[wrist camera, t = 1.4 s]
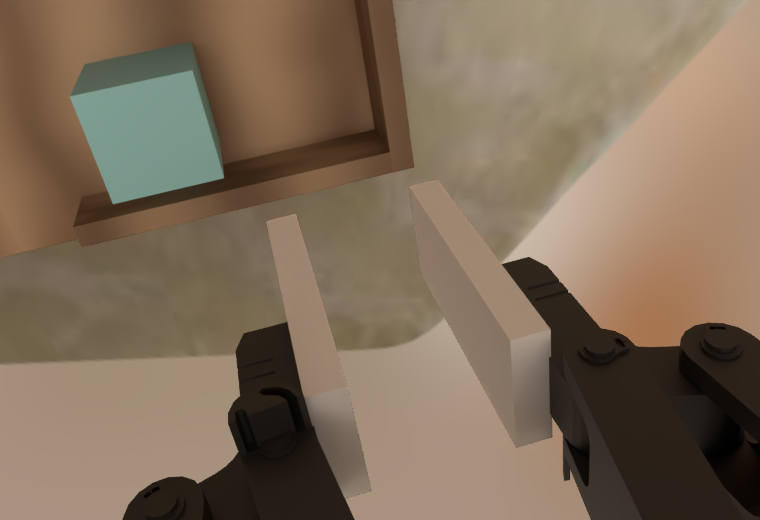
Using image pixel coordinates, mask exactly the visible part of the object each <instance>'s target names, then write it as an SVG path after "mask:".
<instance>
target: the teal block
mask: <svg viewBox="0 0 760 520" xmlns="http://www.w3.org/2000/svg"><path fill="white" fill-rule="evenodd" d="M70 98H71V101H72V103H73V106H74V108H75V111H76V113H77V116H78V118H79V121H80V123H81V126H82V128H83V131H84V133H85V136H86V138H87V141H88V143H89V146H90V148H91V151H92V153H93V156H94V158H95V161H96V163H97V166H98V168H99V170H100V173H101V175H102V178H103V180H104V183H105V185H106V188H107V190H108V193H109V195H110V198H111V200H112V203H113V204H116V203H120V202H125V201H129V200H133V199H137V198H142V197H146V196H150V195H154V194H159V193H163V192H167V191H172V190H176V189H180V188H184V187H189V186H193V185H197V184H201V183H206V182H210V181H214V180H219V179H223V178H224V171H223V163H222V154H221V145H220V138H219V135H218V131H217V128H216V124H215V121H214V118H213V114H212V111H211V107H210V104H209V100H208V97H207V93H206V90H205V87H204V83H203V80H202V76H201V73H200V69H199V66H198V62H197V59H196V56H195V52H194V49H193V45H192V42H188V43H183V44H178V45H173V46H169V47H164V48H159V49H154V50H149V51H145V52H140V53H135V54H130V55H126V56H121V57H116V58H111V59H106V60H102V61H97V62H92V63H87V64H84V67H83V69H82V71H81V73H80V75H79V77H78V80H77V82H76V84H75V86H74V88H73V91H72V93H71V95H70Z"/></svg>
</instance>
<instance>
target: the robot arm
mask: <svg viewBox="0 0 760 520" xmlns="http://www.w3.org/2000/svg"><path fill="white" fill-rule="evenodd" d="M409 190H410V198H411V205H412V212H413V220H414V227H415V234H416V241H417V249H418V256H419V263H420V271H421V275H422V277H423V279H424V281H425V283H426V284H427V286H428V288H429V290H430V292H431V294H432V295H433V297H434V299H435V301H436V303H437V304H438V306H439V308H440V310H441V312H442V314H443V315H444V317H445V319H446V321H447V323H448V325H449V326H450V328H451V330H452V332H453V334H454V335H455V337H456V339H457V341H458V343H459V345H460V346H461V348H462V350H463V352H464V354H465V355H466V357H467V359H468V361H469V363H470V365H471V366H472V368H473V370H474V372H475V374H476V376H477V377H478V379H479V381H480V383H481V385H482V386H483V388H484V390H485V392H486V394H487V396H488V397H489V399H490V401H491V403H492V405H493V407H494V408H495V410H496V412H497V414H498V416H499V417H500V419H501V421H502V423H503V425H504V426H505V428H506V430H507V432H508V434H509V436H510V437H511V439H512V441H513V443H514V445H515V447H516V448H518V447H521V446H524V445H527V444H531V443H535V442H538V441H541V440H545V439H548V438H551V437H552V417H553V419H554V421H555V422H556V423H557V425H558V427H559V428H560V430H561V431H562V433H563V475H564V480H565V481H566V480H570V470H571V472H572V474H573V477H574V479H575V482H576V484H577V487H578V489H579V492H580V494H581V497H582V499H583V501H584V504H585V506H586V509H587V511H588V514H589V516H590V519H591V520H760V341H759V340H758V339H757V338H755V337H754V336H753V335H751V334H750V333H748V332H746V331H744V330H742V329H740V328H738V327H735V326H731V325H727V324H724V323H705V324H700V325H695V326H693V327H692V328H690V329H689V330H687V331H685V333H684V335H683V336H682V338H681V342H680V346H672V347H638V346H635V345H634V344H633V343H632V342H631V341H630V340H629V339H628V338H627V337H626V336H624V335H622V334H620V333H617V332H616V331H612V330H607V329H601V328H600V327H599V326H598V325H597V323H596V322H595V321H594V320H593V319H592V318H591V317H590V316H589V314H588V313H587V312H586V311H585V310H584V308H583V307H582V306H581V305H580V304H579V303H578V301H577V300H576V299H575V298H574V297H573V296H572V294H571V293H568V290H567V289H566V287H565V286H564V285H563V284H562V283H561V282H559V279H558V278H557V277H556V276H555V275H554V273H553V272H552V271H551V270H550V269H549V268H548V266H546V265H543V264H542V263H540V262H537V261H536V260H534V259H532V258H530V257H527V258H523V259H520V260H516V261H512V262H508V263H504V264H501V263H500V262H499V260H498V259H497V258H496V256H495V255H494V254H493V252H492V251H491V250H490V248H489V247H488V246H487V244H486V243H485V242H484V240H483V239H482V238H481V236H480V235H479V234H478V232H477V231H476V230H475V228H474V227H473V226H472V224H471V223H470V222H469V220H468V219H467V218H466V217H465V215H464V214H463V213H462V211H461V210H460V209H459V207H458V206H457V205H456V203H455V202H454V201H453V199H452V198H451V197H450V195H449V194H448V193H447V191H446V190H445V189H444V187H443V186H442V185H441V183H440V182H439V181H438V179H436V180H432V181H428V182H424V183H420V184H416V185H412V186H409ZM266 224H267V229H268V233H269V238H270V243H271V247H272V252H273V257H274V261H275V266H276V271H277V275H278V280H279V285H280V289H281V294H282V299H283V303H284V308H285V313H286V317H287V322H286V323H282V324H278V325H274V326H271V327H267V328H263V329H259V330H255V331H252V332H248V333H244V334H243V336H242V338H241V341H240V343H239V345H238V347H237V349H236V358H237V368H238V378H239V389H240V397H238V398H237V399H236V400H235V401H234V402H233V405H232V407H231V408H230V411H229V412H228V425H229V427H230V430H231V432H232V435H233V438H234V441H235V443H236V446H237V449H238V451H239V452H238V453H237V455H236V456H235V458H234V459H233V460H232V461H231V462H230V463H229V464H228V465H227V466H226V467H224V468H223V469H222V470H220V471H219V472H217V473H216V474H214V475H212V476H211V477H209V478H207V479H205V480H204V481H202V482H200V483H198V484H197V483H196V482H195V481H194V480H192V479H188V478H185V477H168V478H165V479H162V480H159V481H157V482H154V483H152V484H151V485H149V486H148V487H146V488H145V489H144V490H142V491H140V492H139V493H138V494H137V495H136V497H135V498H134V499H133V500H132V501H131V502H130V504H129V505H128V507H127V510H126V512H125V514H124V517H123V520H354V518H353V515H352V513H351V511H350V509H349V507H348V504H347V502H346V500H345V499H346V498H350V497H353V496H356V495H360V494H363V493H367V492H370V491H372V490H371V486H370V481H369V477H368V473H367V469H366V465H365V460H364V455H363V451H362V447H361V443H360V438H359V434H358V430H357V426H356V421H355V417H354V412H353V408H352V404H351V400H350V395H349V391H348V386H347V383H346V380H345V376H344V373H343V369H342V366H341V363H340V359H339V356H338V353H337V349H336V346H335V343H334V339H333V336H332V333H331V329H330V326H329V323H328V319H327V316H326V313H325V309H324V306H323V303H322V299H321V296H320V293H319V289H318V286H317V283H316V279H315V276H314V273H313V269H312V266H311V263H310V259H309V256H308V253H307V249H306V246H305V243H304V239H303V236H302V233H301V229H300V226H299V223H298V219H297V216H296V214H293V215H288V216H284V217H280V218H276V219H272V220H268V221H266Z"/></svg>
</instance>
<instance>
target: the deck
mask: <svg viewBox="0 0 760 520" xmlns="http://www.w3.org/2000/svg"><path fill="white" fill-rule="evenodd" d="M188 42H192V45H193V49H194V52H195V56H196V59H197V62H198V66H199V69H200V73H201V76H202V80H203V83H204V87H205V90H206V93H207V97H208V100H209V104H210V107H211V111H212V114H213V118H214V121H215V124H216V128H217V131H218V135H219V138H220V145H221V154H222V163H223V171H224V178H223V179H219V180H214V181H210V182H206V183H201V184H197V185H193V186H189V187H184V188H180V189H176V190H172V191H167V192H163V193H159V194H154V195H150V196H146V197H142V198H137V199H133V200H129V201H125V202H120V203H116V204H113V203H112V200H111V198H110V195H109V193H108V190H107V188H106V185H105V183H104V180H103V178H102V175H101V173H100V170H99V168H98V166H97V163H96V161H95V158H94V156H93V153H92V151H91V148H90V146H89V143H88V141H87V138H86V136H85V133H84V131H83V128H82V126H81V123H80V121H79V118H78V116H77V113H76V111H75V108H74V106H73V103H72V101H71V98H70V95H71V93H72V91H73V88H74V86H75V84H76V82H77V80H78V77H79V75H80V73H81V71H82V69H83V67H84V64H87V63H92V62H97V61H102V60H106V59H111V58H116V57H121V56H126V55H130V54H135V53H140V52H145V51H149V50H154V49H159V48H164V47H169V46H173V45H178V44H183V43H188ZM413 167H414V164H413V156H412V148H411V141H410V133H409V125H408V118H407V110H406V102H405V95H404V87H403V79H402V72H401V64H400V56H399V49H398V41H397V33H396V26H395V18H394V10H393V3H392V0H0V257H4V256H9V255H13V254H17V253H21V252H25V251H30V250H34V249H38V248H42V247H46V246H51V245H55V244H59V243H63V242H67V241H71V240H76V239H78V240H79V242H80V244H81V246H82V247H84V246H88V245H93V244H97V243H101V242H105V241H109V240H113V239H118V238H122V237H126V236H130V235H134V234H138V233H142V232H147V231H151V230H155V229H159V228H163V227H167V226H172V225H176V224H180V223H184V222H188V221H192V220H197V219H201V218H205V217H209V216H213V215H217V214H222V213H226V212H230V211H234V210H238V209H242V208H246V207H251V206H255V205H259V204H263V203H267V202H271V201H276V200H280V199H284V198H288V197H292V196H296V195H301V194H305V193H309V192H313V191H317V190H321V189H326V188H330V187H334V186H338V185H342V184H346V183H351V182H355V181H359V180H363V179H367V178H371V177H375V176H380V175H384V174H388V173H392V172H396V171H400V170H405V169H409V168H413Z"/></svg>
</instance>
